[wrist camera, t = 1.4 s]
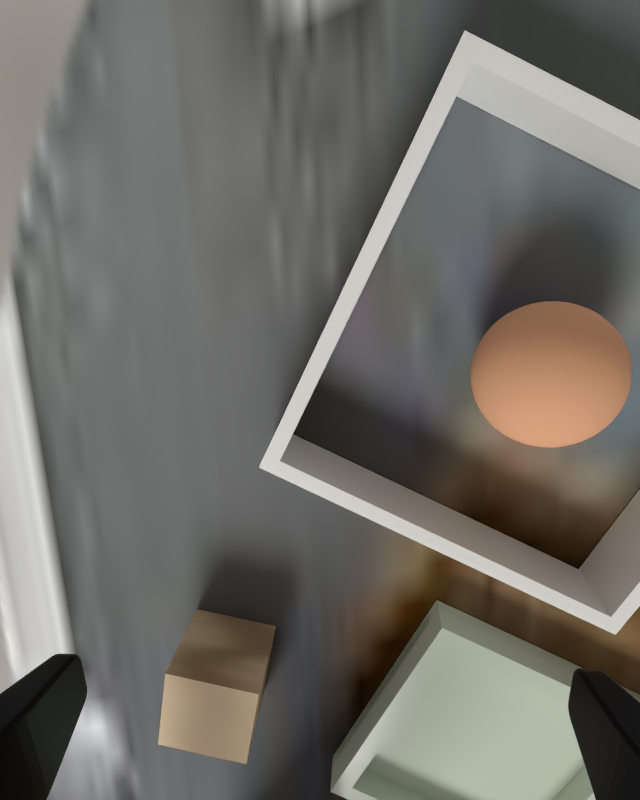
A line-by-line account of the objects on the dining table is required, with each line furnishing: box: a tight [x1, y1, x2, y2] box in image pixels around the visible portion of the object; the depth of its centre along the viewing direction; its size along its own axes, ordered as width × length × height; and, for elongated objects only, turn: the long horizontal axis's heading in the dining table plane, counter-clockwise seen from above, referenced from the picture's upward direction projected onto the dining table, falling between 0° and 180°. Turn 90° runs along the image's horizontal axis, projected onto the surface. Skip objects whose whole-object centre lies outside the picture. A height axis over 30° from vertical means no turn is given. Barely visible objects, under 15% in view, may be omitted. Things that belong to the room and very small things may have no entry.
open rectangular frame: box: [259, 31, 640, 635], centre depth 18 cm, size 15×15×3 cm
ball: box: [471, 301, 632, 447], centre depth 17 cm, size 5×5×5 cm
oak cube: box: [158, 609, 276, 764], centre depth 23 cm, size 4×4×4 cm
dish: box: [330, 600, 640, 800], centre depth 24 cm, size 11×11×2 cm
